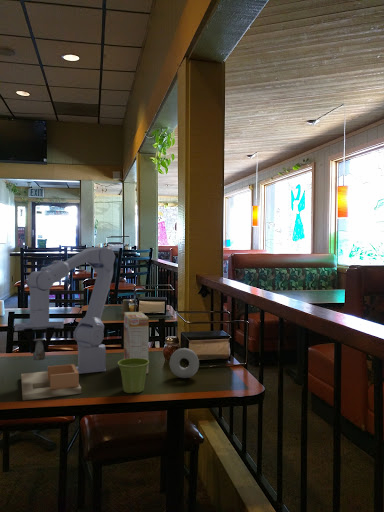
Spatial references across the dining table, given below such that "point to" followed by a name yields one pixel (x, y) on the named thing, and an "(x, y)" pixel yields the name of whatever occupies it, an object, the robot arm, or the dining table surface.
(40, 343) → the peg
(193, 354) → the donut
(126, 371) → the plant pot
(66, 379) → the light brown open box
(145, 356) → the coffeecake box
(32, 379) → the board
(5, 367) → the dining table surface
